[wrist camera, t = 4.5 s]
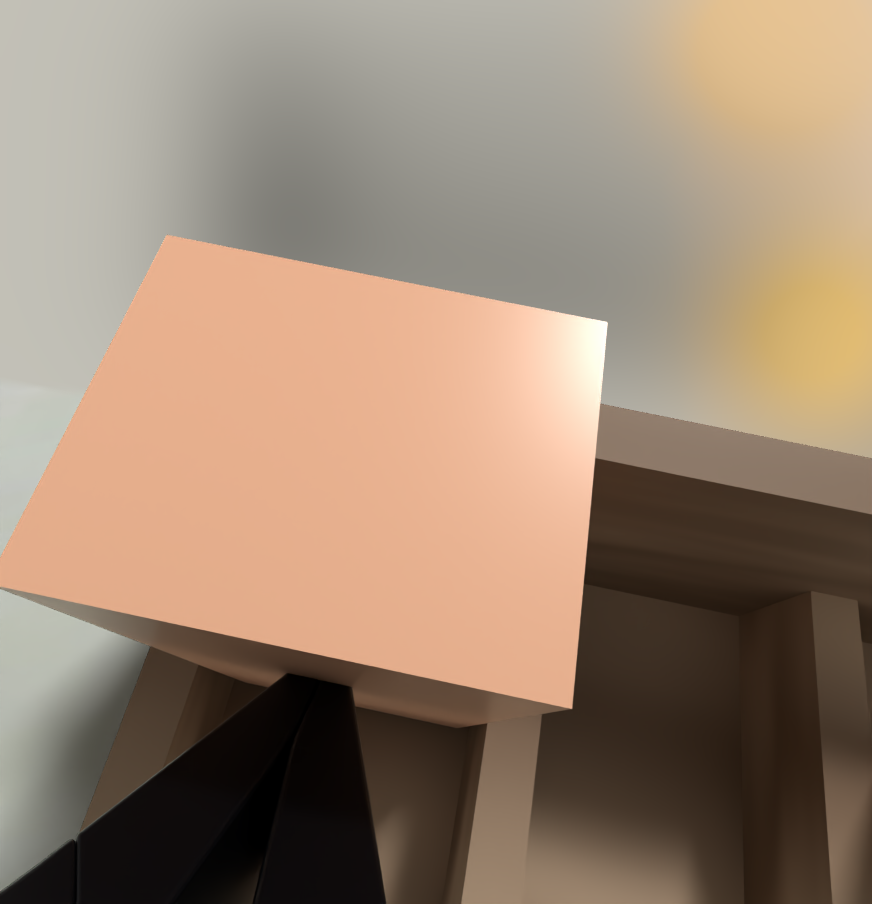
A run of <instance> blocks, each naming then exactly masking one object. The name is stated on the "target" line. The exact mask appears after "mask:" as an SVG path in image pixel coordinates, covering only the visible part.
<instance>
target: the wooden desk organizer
mask: <svg viewBox="0 0 872 904" xmlns="http://www.w3.org/2000/svg"><path fill="white" fill-rule="evenodd" d="M267 688H268V687H264V686H259V685H255V684H250V683H245V682H243V681H240V680H237V679H235V678H232V677H230V676H227V675H224V674H222V673H219V672H216V671H214V670H211V669H209V668H206V667H203V666H201V665H198V664H196V663H193V662H190V661H188V660H185V659H182V658H180V657H177V656H175V655H172V654H169V653H167V652H164V651H162V650H159V649H156V648H154V647H151V646H150V649H149V652H148V654H147V657H146V659H145V662H144V665H143V667H142V670H141V672H140V675H139V678H138V680H137V683H136V686H135V688H134V691H133V693H132V696H131V699H130V701H129V704H128V706H127V709H126V712H125V714H124V717H123V719H122V722H121V725H120V727H119V730H118V733H117V735H116V738H115V740H114V743H113V746H112V748H111V751H110V753H109V756H108V759H107V761H106V764H105V767H104V769H103V772H102V774H101V777H100V780H99V782H98V785H97V787H96V790H95V793H94V795H93V798H92V800H91V803H90V806H89V808H88V811H87V814H86V816H85V819H84V821H83V824H82V827H81V829H80V832H81V831H82V830H83V829H85V828H86V827H87V826H89V825H90V824H91V823H92V822H94V821H95V820H96V819H98V818H99V817H100V816H102V815H103V814H104V813H105V812H107V811H108V810H109V809H111V808H112V807H113V806H115V805H116V804H117V803H118V802H120V801H121V800H122V799H124V798H125V797H126V796H128V795H129V794H130V793H131V792H133V791H134V790H135V789H137V788H138V787H139V786H141V785H142V784H143V783H144V782H146V781H147V780H148V779H150V778H151V777H152V776H154V775H155V774H156V773H157V772H159V771H160V770H161V769H163V768H164V767H165V766H167V765H168V764H169V763H171V762H172V761H173V760H174V759H176V758H177V757H178V756H180V755H181V754H182V753H184V752H185V751H186V750H187V749H189V748H190V747H191V746H193V745H194V744H195V743H197V742H198V741H199V740H200V739H202V738H203V737H204V736H206V735H207V734H208V733H210V732H211V731H212V730H213V729H215V728H216V727H217V726H219V725H220V724H221V723H223V722H224V721H225V720H226V719H228V718H229V717H230V716H232V715H233V714H234V713H236V712H237V711H238V710H239V709H241V708H242V707H243V706H245V705H246V704H247V703H249V702H250V701H251V700H252V699H254V698H255V697H256V696H258V695H259V694H260V693H262V692H263V691H264V690H265V689H267ZM355 708H356V714H357V721H358V727H359V733H360V739H361V746H362V752H363V758H364V765H365V771H366V777H367V783H368V790H369V796H370V802H371V809H372V815H373V821H374V827H375V834H376V840H377V846H378V853H379V859H380V865H381V871H382V878H383V884H384V890H385V897H386V903H387V904H872V458H867V457H862V456H857V455H852V454H847V453H842V452H837V451H833V450H828V449H822V448H818V447H813V446H808V445H803V444H798V443H793V442H787V441H783V440H778V439H773V438H768V437H763V436H758V435H753V434H748V433H743V432H738V431H733V430H728V429H723V428H718V427H713V426H708V425H703V424H698V423H694V422H688V421H684V420H679V419H674V418H669V417H664V416H659V415H654V414H649V413H644V412H639V411H634V410H629V409H624V408H619V407H614V406H609V405H604V404H600V410H599V421H598V432H597V443H596V454H595V465H594V475H593V486H592V497H591V508H590V519H589V530H588V541H587V552H586V563H585V574H584V584H583V595H582V606H581V617H580V628H579V639H578V650H577V661H576V672H575V683H574V694H573V704H572V709H569V710H563V711H557V712H551V713H545V714H539V715H533V716H527V717H521V718H515V719H509V720H503V721H497V722H491V723H485V724H479V725H473V726H467V727H461V728H454V727H449V726H444V725H440V724H435V723H430V722H426V721H421V720H417V719H412V718H407V717H403V716H398V715H393V714H389V713H384V712H380V711H375V710H370V709H366V708H361V707H356V706H355Z"/></svg>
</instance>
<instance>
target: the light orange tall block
mask: <svg viewBox="0 0 872 904" xmlns="http://www.w3.org/2000/svg"><path fill="white" fill-rule="evenodd" d="M606 334H607V322H604V321H599V320H593V319H589V318H584V317H579V316H573V315H568V314H563V313H558V312H553V311H548V310H542V309H538V308H533V307H528V306H523V305H518V304H513V303H508V302H503V301H497V300H493V299H488V298H483V297H477V296H472V295H467V294H462V293H457V292H452V291H447V290H442V289H437V288H432V287H427V286H422V285H417V284H412V283H407V282H401V281H396V280H392V279H387V278H381V277H376V276H371V275H367V274H361V273H356V272H351V271H346V270H341V269H336V268H331V267H326V266H321V265H316V264H311V263H306V262H301V261H296V260H290V259H286V258H280V257H276V256H270V255H266V254H260V253H256V252H250V251H245V250H240V249H235V248H230V247H225V246H220V245H215V244H210V243H205V242H200V241H195V240H189V239H185V238H180V237H175V236H169V235H167V236H166V237H165V239H164V241H163V243H162V245H161V247H160V249H159V251H158V253H157V255H156V257H155V259H154V261H153V263H152V265H151V266H150V268H149V271H148V272H147V274H146V276H145V278H144V280H143V282H142V284H141V286H140V288H139V290H138V292H137V294H136V296H135V297H134V299H133V301H132V303H131V305H130V307H129V309H128V311H127V313H126V315H125V317H124V319H123V321H122V323H121V325H120V327H119V328H118V330H117V332H116V335H115V336H114V338H113V340H112V342H111V344H110V346H109V348H108V350H107V352H106V354H105V356H104V357H103V360H102V362H101V363H100V365H99V367H98V369H97V371H96V373H95V375H94V377H93V379H92V381H91V383H90V385H89V387H88V388H87V390H86V392H85V394H84V396H83V398H82V400H81V402H80V404H79V406H78V408H77V410H76V412H75V414H74V416H73V418H72V419H71V421H70V423H69V425H68V427H67V429H66V431H65V433H64V435H63V437H62V439H61V441H60V443H59V445H58V447H57V449H56V450H55V452H54V454H53V456H52V458H51V460H50V462H49V464H48V466H47V468H46V470H45V472H44V474H43V476H42V478H41V480H40V481H39V483H38V485H37V487H36V489H35V491H34V493H33V495H32V497H31V499H30V501H29V503H28V505H27V507H26V509H25V511H24V512H23V514H22V516H21V518H20V520H19V522H18V524H17V526H16V528H15V530H14V532H13V534H12V536H11V538H10V540H9V542H8V543H7V545H6V547H5V549H4V551H3V553H2V555H1V557H0V589H2V590H5V591H7V592H10V593H13V594H15V595H18V596H20V597H23V598H26V599H28V600H31V601H34V602H36V603H39V604H41V605H44V606H47V607H49V608H52V609H54V610H57V611H60V612H62V613H65V614H67V615H70V616H73V617H75V618H78V619H81V620H83V621H86V622H88V623H91V624H94V625H96V626H99V627H101V628H104V629H107V630H109V631H112V632H115V633H117V634H120V635H122V636H125V637H128V638H130V639H133V640H135V641H138V642H141V643H143V644H146V645H148V646H151V647H154V648H156V649H159V650H162V651H164V652H167V653H169V654H172V655H175V656H177V657H180V658H182V659H185V660H188V661H190V662H193V663H196V664H198V665H201V666H203V667H206V668H209V669H211V670H214V671H216V672H219V673H222V674H224V675H227V676H230V677H232V678H235V679H237V680H240V681H243V682H245V683H250V684H255V685H259V686H264V687H269V686H271V685H272V684H273V683H275V682H276V681H277V680H278V679H280V678H281V677H282V676H284V675H285V674H286V673H290V674H295V675H299V676H304V677H309V678H313V679H317V680H322V681H327V682H332V683H337V684H341V685H346V686H350V687H352V689H353V695H354V702H355V706H356V707H361V708H366V709H370V710H375V711H380V712H384V713H389V714H393V715H398V716H403V717H407V718H412V719H417V720H421V721H426V722H430V723H435V724H440V725H444V726H449V727H454V728H461V727H467V726H473V725H479V724H485V723H491V722H497V721H503V720H509V719H515V718H521V717H527V716H533V715H539V714H545V713H551V712H557V711H563V710H569V709H572V704H573V694H574V683H575V672H576V661H577V650H578V639H579V628H580V617H581V606H582V595H583V584H584V574H585V563H586V552H587V541H588V530H589V519H590V508H591V497H592V486H593V475H594V465H595V454H596V443H597V432H598V421H599V410H600V399H601V387H602V376H603V366H604V356H605V345H606Z"/></svg>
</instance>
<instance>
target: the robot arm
mask: <svg viewBox="0 0 872 904" xmlns="http://www.w3.org/2000/svg"><path fill="white" fill-rule="evenodd" d="M0 904H387V903H386V897H385V890H384V884H383V878H382V871H381V865H380V859H379V853H378V846H377V840H376V834H375V827H374V821H373V815H372V809H371V802H370V796H369V790H368V783H367V777H366V771H365V765H364V758H363V752H362V746H361V739H360V733H359V727H358V721H357V714H356V708H355V702H354V695H353V689H352V687H350V686H346V685H341V684H337V683H332V682H327V681H322V680H317V679H313V678H309V677H304V676H299V675H295V674H290V673H286V674H285V675H284V676H282V677H281V678H280V679H278V680H277V681H276V682H275V683H273V684H272V685H271V686H269V687H268V688H267V689H265V690H264V691H263V692H262V693H260V694H259V695H258V696H256V697H255V698H254V699H252V700H251V701H250V702H249V703H247V704H246V705H245V706H243V707H242V708H241V709H239V710H238V711H237V712H236V713H234V714H233V715H232V716H230V717H229V718H228V719H226V720H225V721H224V722H223V723H221V724H220V725H219V726H217V727H216V728H215V729H213V730H212V731H211V732H210V733H208V734H207V735H206V736H204V737H203V738H202V739H200V740H199V741H198V742H197V743H195V744H194V745H193V746H191V747H190V748H189V749H187V750H186V751H185V752H184V753H182V754H181V755H180V756H178V757H177V758H176V759H174V760H173V761H172V762H171V763H169V764H168V765H167V766H165V767H164V768H163V769H161V770H160V771H159V772H157V773H156V774H155V775H154V776H152V777H151V778H150V779H148V780H147V781H146V782H144V783H143V784H142V785H141V786H139V787H138V788H137V789H135V790H134V791H133V792H131V793H130V794H129V795H128V796H126V797H125V798H124V799H122V800H121V801H120V802H118V803H117V804H116V805H115V806H113V807H112V808H111V809H109V810H108V811H107V812H105V813H104V814H103V815H102V816H100V817H99V818H98V819H96V820H95V821H94V822H92V823H91V824H90V825H89V826H87V827H86V828H85V829H83V830H82V831H81V832H79V833H78V834H77V836H76V842H75V840H72V839H71V840H69V841H67V842H66V843H65V844H63V845H62V846H61V847H60V848H58V849H57V850H56V851H54V852H53V853H52V854H50V855H49V856H48V857H47V858H45V859H44V860H43V861H41V862H40V863H39V864H37V865H36V866H35V867H33V868H32V869H31V870H29V871H28V872H26V873H25V874H24V875H22V876H21V877H20V878H18V879H17V880H16V881H14V882H13V883H12V884H10V885H9V886H7V887H6V888H5V889H3V890H2V891H1V892H0Z"/></svg>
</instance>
